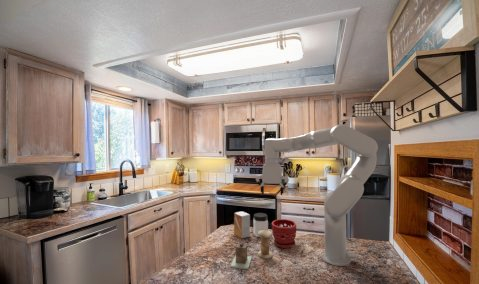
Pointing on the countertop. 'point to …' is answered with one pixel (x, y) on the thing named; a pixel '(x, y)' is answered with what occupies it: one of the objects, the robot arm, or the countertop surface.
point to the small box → (242, 224)
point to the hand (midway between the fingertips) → (272, 194)
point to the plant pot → (284, 233)
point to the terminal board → (240, 265)
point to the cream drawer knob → (265, 244)
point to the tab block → (241, 253)
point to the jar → (259, 223)
